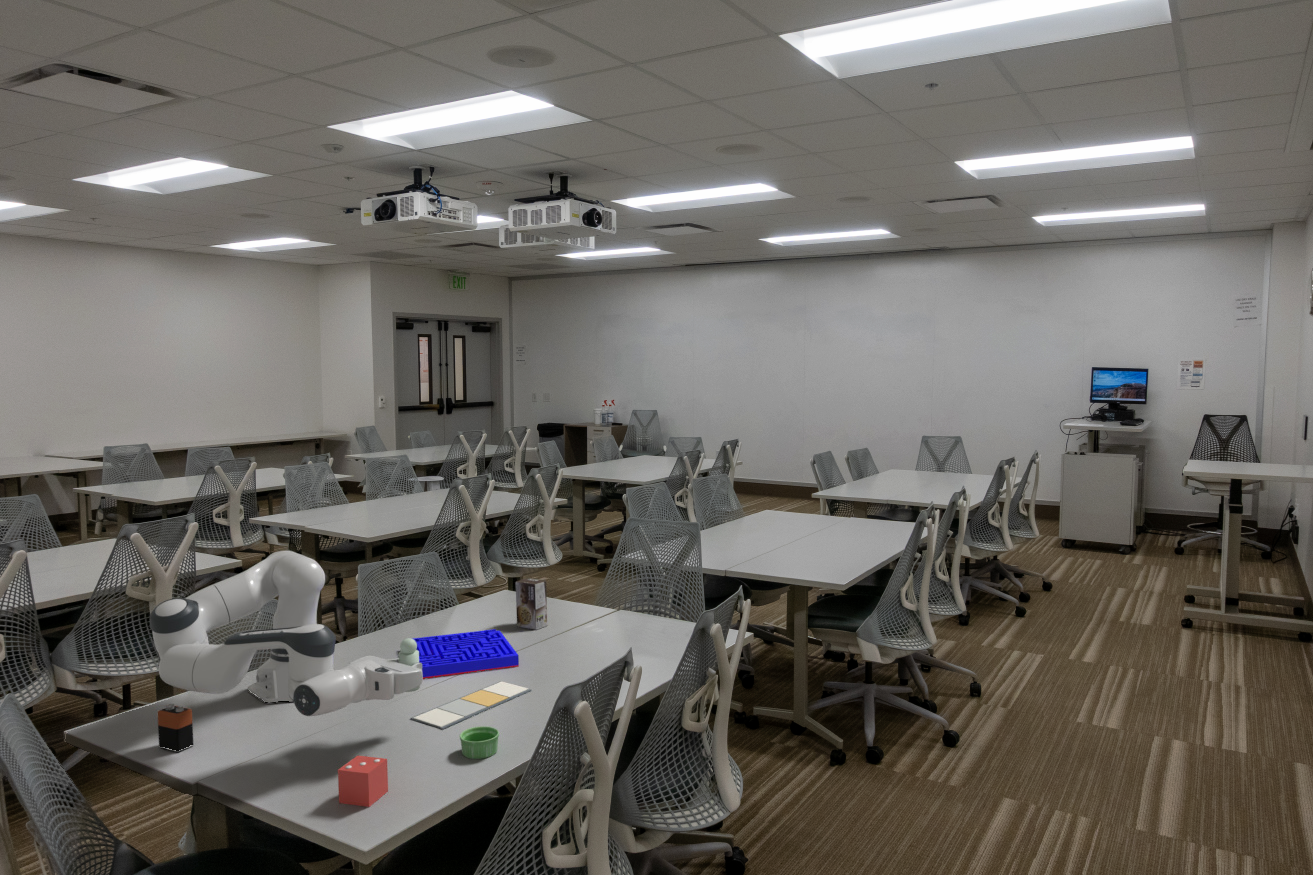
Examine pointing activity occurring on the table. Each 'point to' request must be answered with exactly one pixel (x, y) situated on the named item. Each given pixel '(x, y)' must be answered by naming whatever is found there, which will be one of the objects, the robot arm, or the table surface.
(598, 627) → the table surface
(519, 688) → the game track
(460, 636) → the maze
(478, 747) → the ramekin
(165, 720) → the battery
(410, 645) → the pawn
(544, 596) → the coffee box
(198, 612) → the robot arm
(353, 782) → the red die
